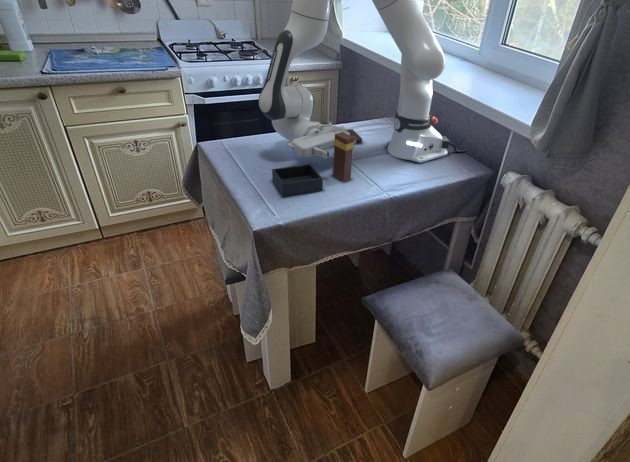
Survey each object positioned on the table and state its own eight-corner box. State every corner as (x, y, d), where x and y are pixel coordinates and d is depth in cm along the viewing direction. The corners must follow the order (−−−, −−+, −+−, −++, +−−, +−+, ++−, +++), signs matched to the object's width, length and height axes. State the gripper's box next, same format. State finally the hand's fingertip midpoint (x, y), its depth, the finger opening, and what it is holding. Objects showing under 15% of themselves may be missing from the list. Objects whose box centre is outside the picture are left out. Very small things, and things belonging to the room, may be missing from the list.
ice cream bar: (334, 129, 167) (350, 145, 157) (335, 125, 166) (350, 140, 156) (347, 128, 170) (363, 143, 159) (347, 124, 169) (363, 139, 158)
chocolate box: (339, 172, 138) (342, 131, 130) (350, 179, 136) (354, 137, 128) (332, 175, 136) (334, 134, 128) (343, 182, 134) (346, 140, 126)
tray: (310, 175, 135) (310, 163, 132) (322, 190, 128) (322, 178, 126) (272, 181, 130) (272, 168, 127) (282, 197, 123) (282, 184, 120)
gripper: (283, 134, 131) (313, 150, 124) (332, 120, 144) (362, 134, 137) (283, 153, 135) (312, 169, 128) (331, 138, 148) (360, 152, 141)
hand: (338, 151), depth 132 cm, fingers open, 8 cm apart
